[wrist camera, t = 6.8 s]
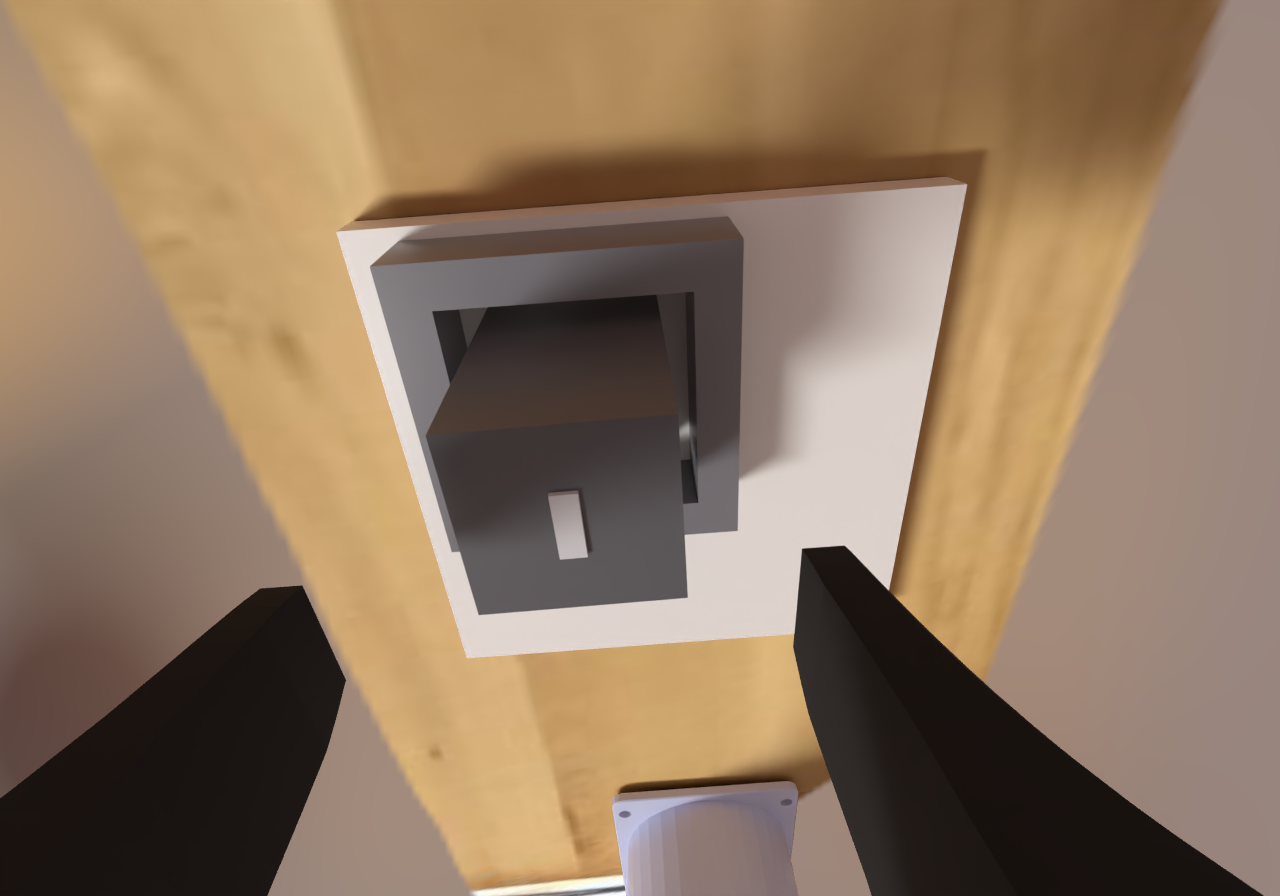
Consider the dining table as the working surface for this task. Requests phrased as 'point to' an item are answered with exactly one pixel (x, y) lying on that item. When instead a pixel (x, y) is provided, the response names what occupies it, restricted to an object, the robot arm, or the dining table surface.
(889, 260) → the outlet plate
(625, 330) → the block
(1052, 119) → the dining table surface
